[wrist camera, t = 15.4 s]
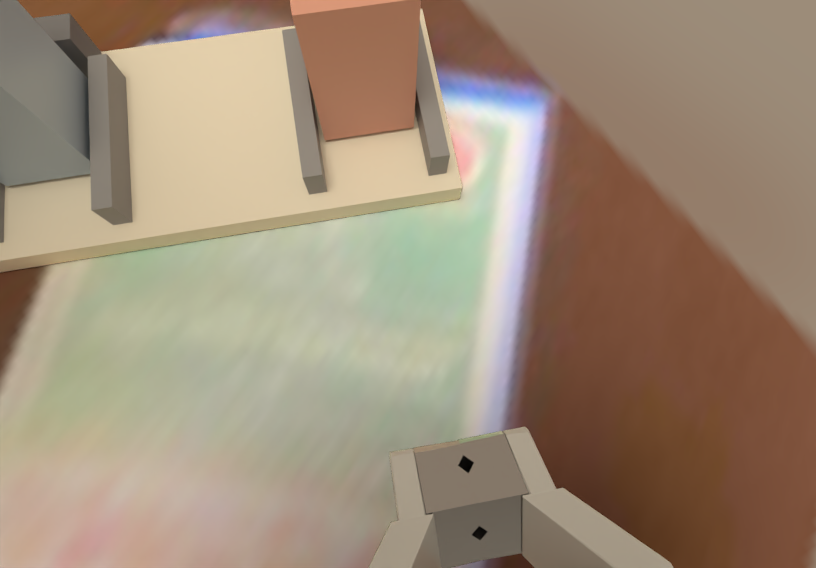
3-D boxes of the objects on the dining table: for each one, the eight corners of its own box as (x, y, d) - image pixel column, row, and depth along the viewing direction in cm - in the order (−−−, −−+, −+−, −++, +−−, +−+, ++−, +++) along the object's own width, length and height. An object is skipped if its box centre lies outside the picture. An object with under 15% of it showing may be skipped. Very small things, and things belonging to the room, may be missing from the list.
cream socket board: (459, 199, 29) (469, 160, 25) (-9, 273, 28) (-85, 246, 23) (420, 27, 32) (424, -34, 28) (-3, 85, 31) (-70, 29, 26)
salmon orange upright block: (413, 127, 28) (420, -2, 20) (324, 140, 28) (292, 15, 19) (398, 52, 30) (398, -100, 21) (313, 64, 29) (277, -86, 21)
